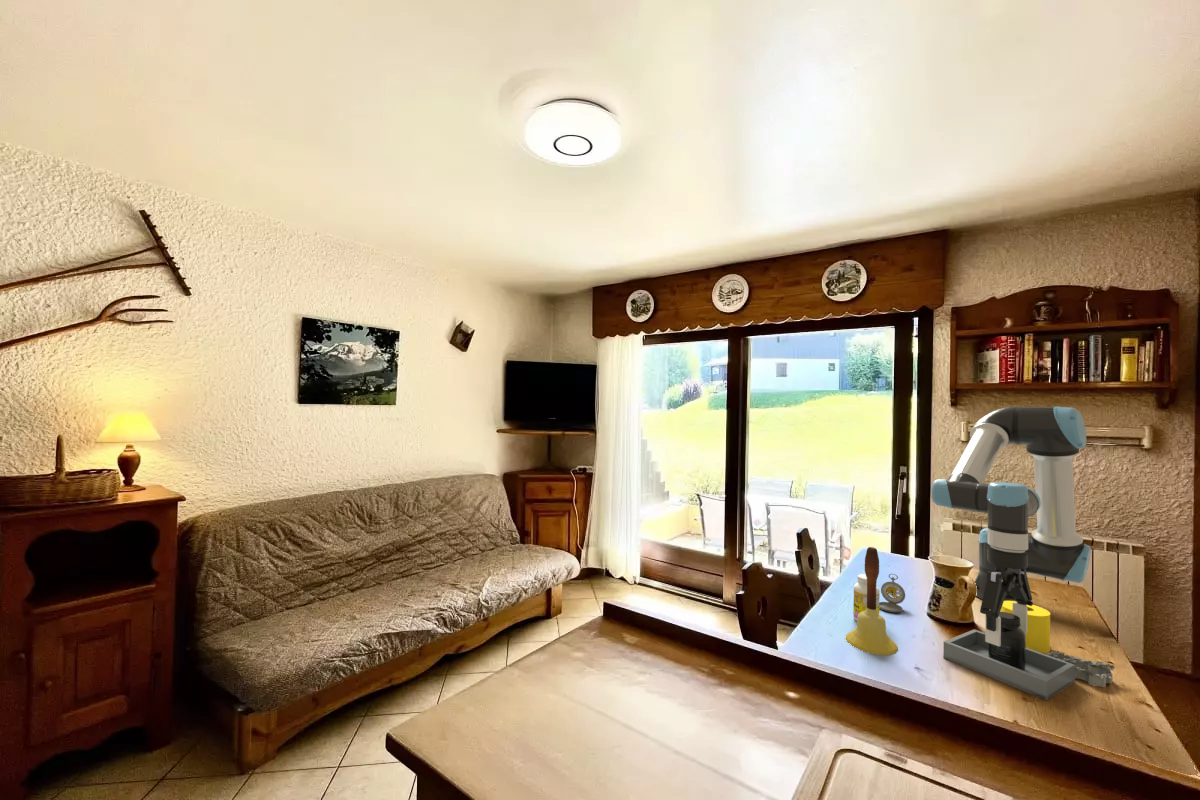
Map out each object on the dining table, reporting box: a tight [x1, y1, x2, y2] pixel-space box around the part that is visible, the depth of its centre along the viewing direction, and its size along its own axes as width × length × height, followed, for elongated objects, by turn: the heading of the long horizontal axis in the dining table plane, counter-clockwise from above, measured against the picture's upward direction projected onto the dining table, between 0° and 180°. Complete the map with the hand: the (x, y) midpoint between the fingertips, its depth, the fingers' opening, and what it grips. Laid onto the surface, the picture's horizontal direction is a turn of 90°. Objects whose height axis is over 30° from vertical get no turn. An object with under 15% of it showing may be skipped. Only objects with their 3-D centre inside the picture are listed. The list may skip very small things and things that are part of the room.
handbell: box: [844, 546, 899, 656], centre depth 130 cm, size 12×12×25 cm
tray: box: [942, 628, 1076, 701], centre depth 118 cm, size 15×20×4 cm
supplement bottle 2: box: [988, 611, 1026, 671], centre depth 118 cm, size 7×7×12 cm
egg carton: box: [1045, 650, 1115, 688], centre depth 116 cm, size 11×8×4 cm
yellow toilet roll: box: [1000, 601, 1051, 654], centre depth 131 cm, size 10×10×9 cm
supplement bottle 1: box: [852, 573, 881, 622], centre depth 143 cm, size 7×7×13 cm
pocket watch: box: [879, 573, 906, 614], centre depth 153 cm, size 8×8×10 cm
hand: (1006, 637), depth 118 cm, fingers open, 13 cm apart
